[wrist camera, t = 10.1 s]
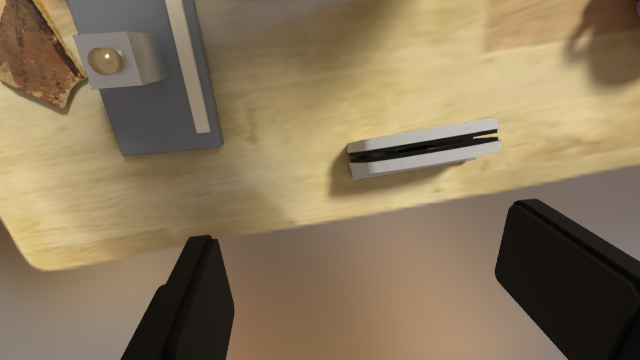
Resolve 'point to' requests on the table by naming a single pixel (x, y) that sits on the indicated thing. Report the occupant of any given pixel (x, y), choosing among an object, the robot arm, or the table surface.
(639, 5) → the teapot
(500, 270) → the robot arm
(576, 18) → the table surface
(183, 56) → the hole plate
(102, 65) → the block
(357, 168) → the grey layered slab
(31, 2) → the shard
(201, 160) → the table surface
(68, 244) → the table surface
